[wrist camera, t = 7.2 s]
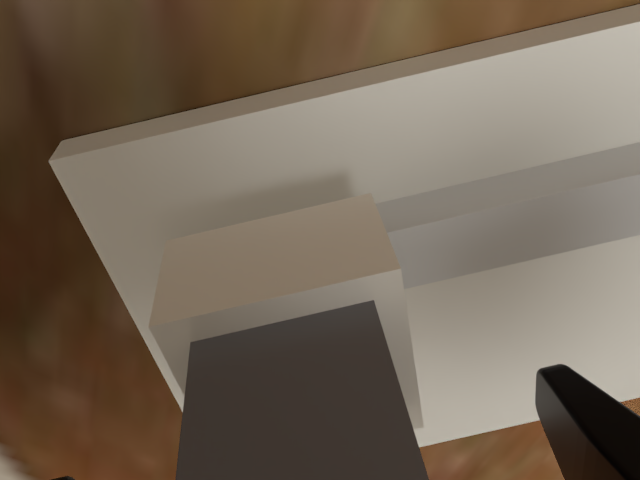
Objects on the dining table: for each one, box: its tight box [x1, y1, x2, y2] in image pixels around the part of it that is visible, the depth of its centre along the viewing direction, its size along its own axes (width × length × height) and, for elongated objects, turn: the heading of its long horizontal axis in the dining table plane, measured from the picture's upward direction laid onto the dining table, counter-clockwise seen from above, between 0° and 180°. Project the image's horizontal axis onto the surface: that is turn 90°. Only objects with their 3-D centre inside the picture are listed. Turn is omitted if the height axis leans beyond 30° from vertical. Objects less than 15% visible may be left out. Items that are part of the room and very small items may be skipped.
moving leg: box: [149, 193, 429, 480], centre depth 10 cm, size 7×4×8 cm, turn 11°
